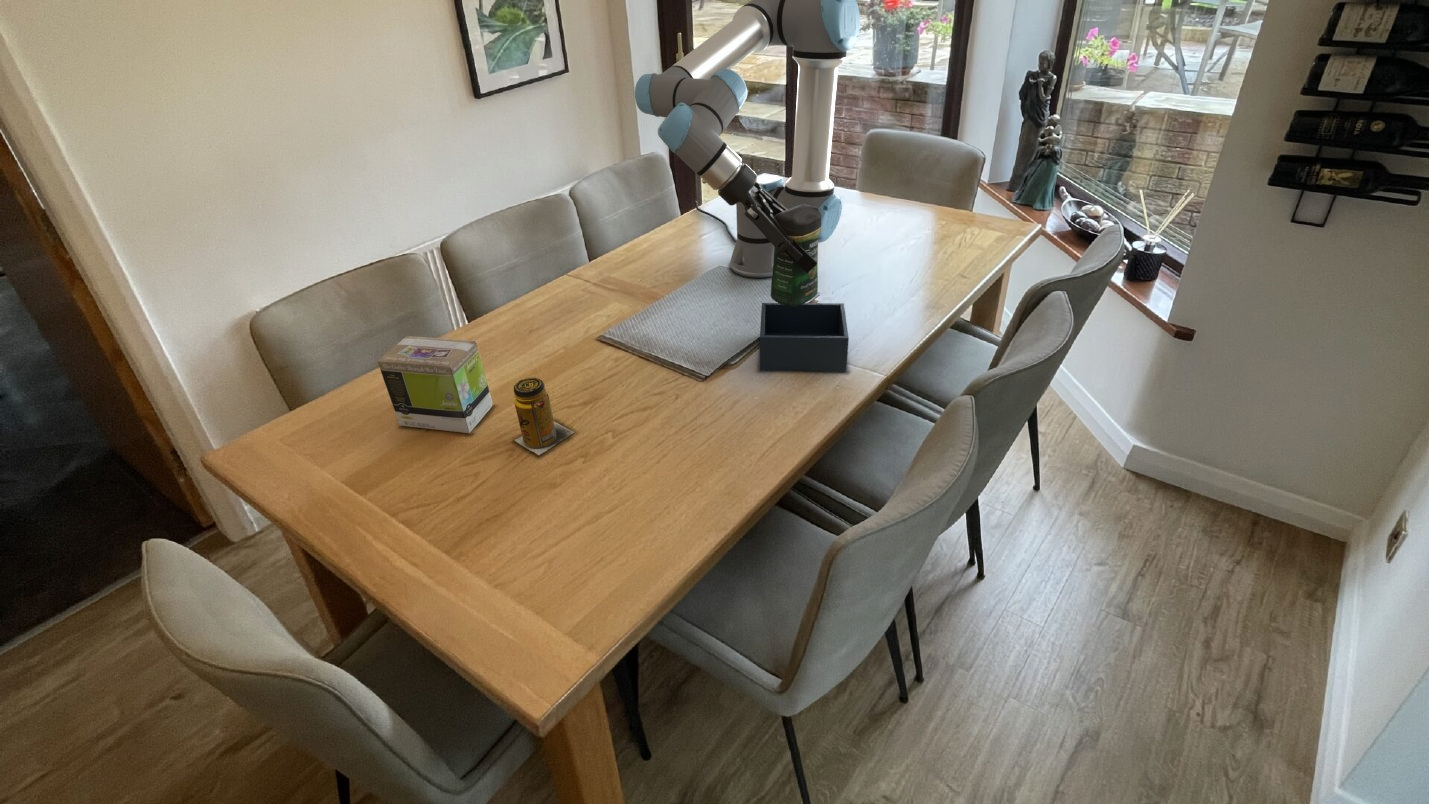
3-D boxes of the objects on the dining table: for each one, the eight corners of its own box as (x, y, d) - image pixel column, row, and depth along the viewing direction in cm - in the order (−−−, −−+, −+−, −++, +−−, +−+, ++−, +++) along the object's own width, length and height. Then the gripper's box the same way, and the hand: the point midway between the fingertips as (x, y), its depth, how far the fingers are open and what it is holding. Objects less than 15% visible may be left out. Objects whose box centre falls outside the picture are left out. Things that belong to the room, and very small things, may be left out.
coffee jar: (795, 311, 143) (799, 220, 133) (764, 300, 148) (765, 211, 137) (824, 294, 149) (829, 206, 138) (793, 284, 153) (796, 197, 143)
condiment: (513, 441, 133) (500, 386, 126) (550, 419, 138) (539, 365, 132) (539, 456, 129) (526, 400, 122) (575, 433, 134) (565, 378, 128)
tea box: (494, 405, 143) (478, 339, 135) (469, 435, 135) (450, 367, 127) (426, 397, 146) (406, 333, 138) (397, 427, 138) (374, 360, 130)
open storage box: (761, 335, 162) (761, 302, 158) (841, 335, 161) (843, 303, 156) (759, 371, 150) (759, 337, 146) (846, 372, 149) (848, 338, 144)
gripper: (720, 172, 146) (797, 246, 154) (710, 212, 128) (798, 294, 136) (746, 145, 143) (823, 222, 150) (740, 181, 125) (828, 267, 132)
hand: (811, 256), depth 143 cm, fingers closed on coffee jar, 10 cm apart
